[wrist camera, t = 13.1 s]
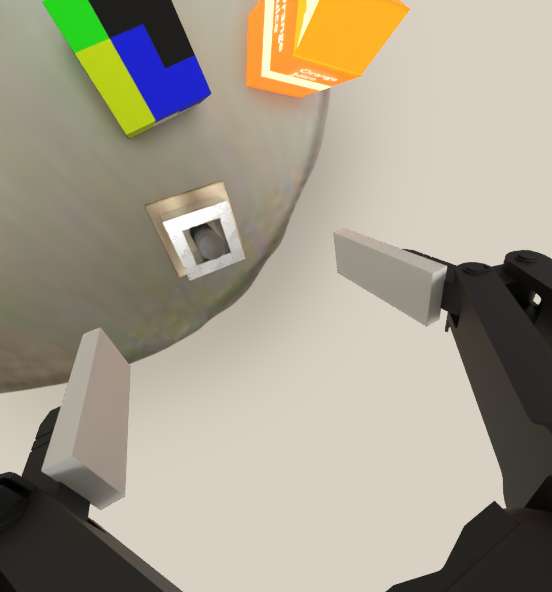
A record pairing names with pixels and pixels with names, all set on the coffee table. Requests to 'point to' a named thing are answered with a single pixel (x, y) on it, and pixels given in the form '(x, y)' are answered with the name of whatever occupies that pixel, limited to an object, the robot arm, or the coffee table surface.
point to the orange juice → (316, 42)
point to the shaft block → (197, 236)
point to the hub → (195, 216)
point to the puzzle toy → (133, 57)
